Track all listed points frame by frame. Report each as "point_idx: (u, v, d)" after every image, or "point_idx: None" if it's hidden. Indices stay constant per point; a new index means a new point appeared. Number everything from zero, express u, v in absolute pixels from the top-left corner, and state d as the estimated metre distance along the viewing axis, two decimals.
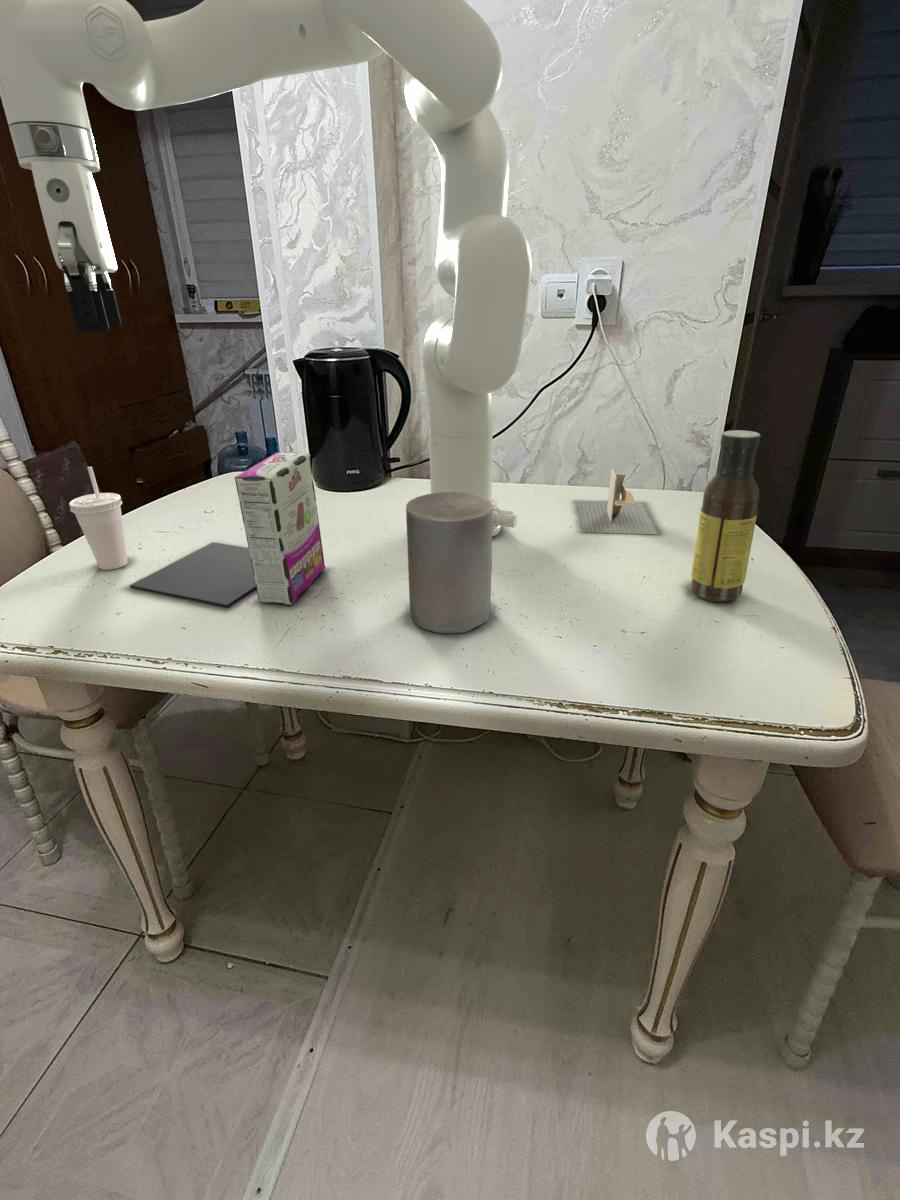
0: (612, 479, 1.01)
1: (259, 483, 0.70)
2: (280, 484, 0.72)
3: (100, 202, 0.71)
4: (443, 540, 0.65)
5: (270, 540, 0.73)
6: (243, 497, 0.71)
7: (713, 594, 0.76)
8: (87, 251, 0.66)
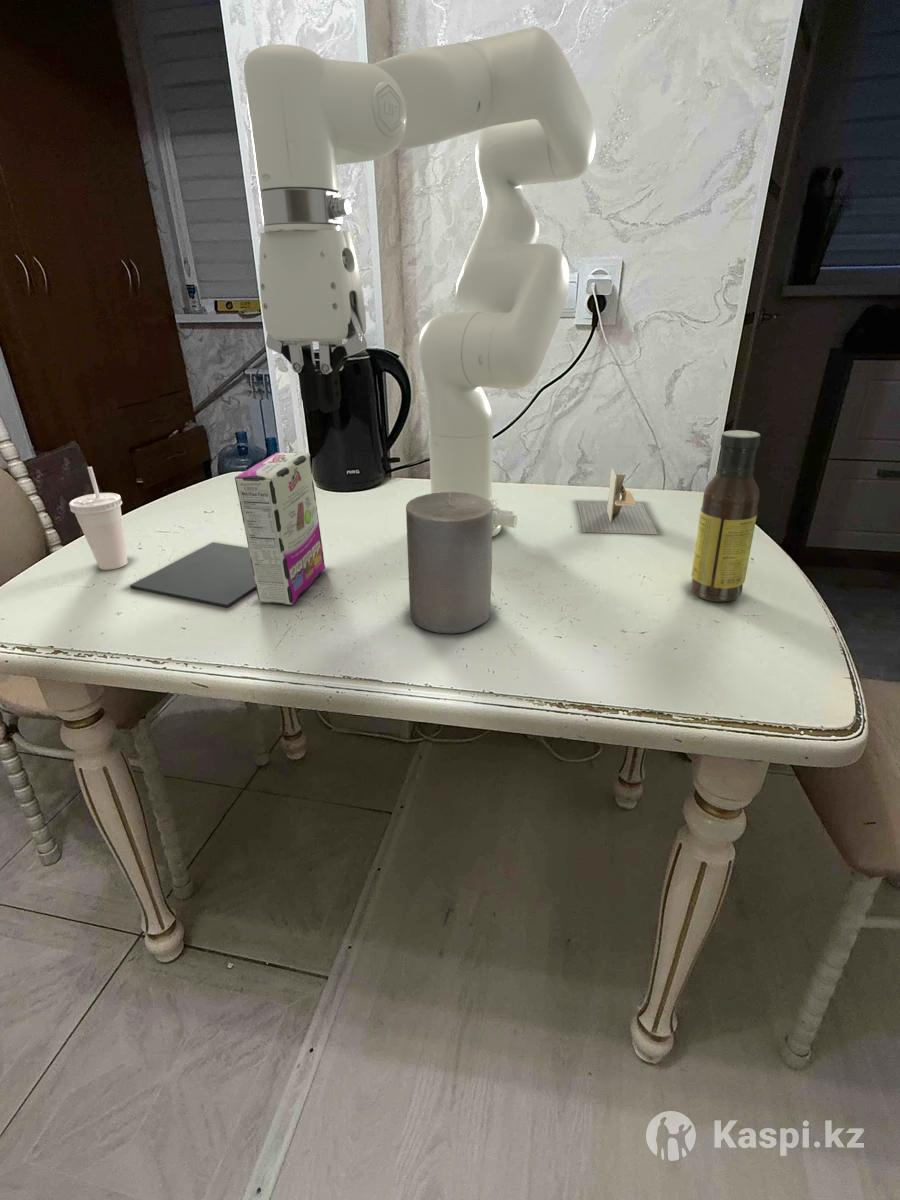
0: (612, 479, 1.01)
1: (259, 483, 0.70)
2: (280, 484, 0.72)
3: None
4: (443, 540, 0.65)
5: (270, 540, 0.73)
6: (243, 497, 0.71)
7: (713, 594, 0.76)
8: None
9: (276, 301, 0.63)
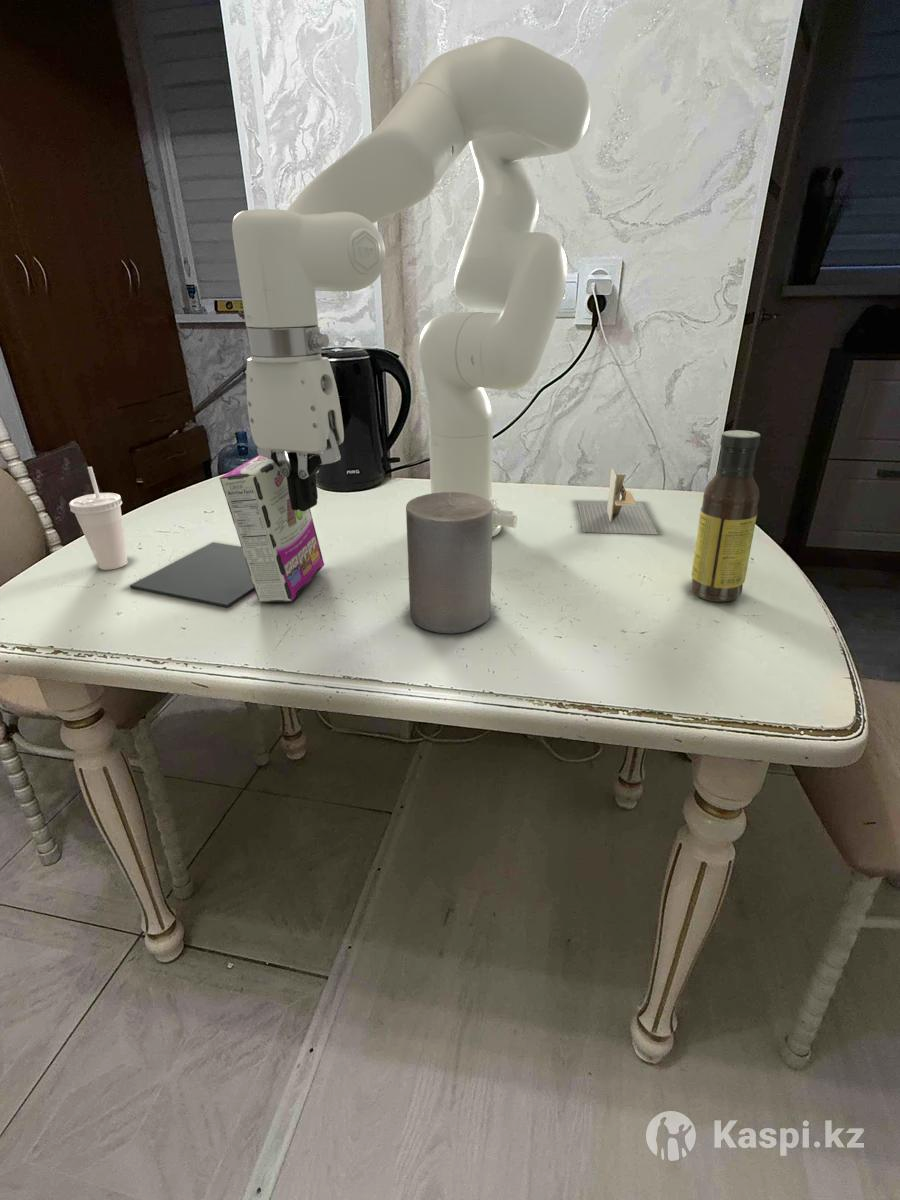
0: (612, 479, 1.01)
1: (243, 480, 0.70)
2: (265, 480, 0.72)
3: None
4: (443, 540, 0.65)
5: (261, 537, 0.73)
6: (230, 497, 0.72)
7: (713, 594, 0.76)
8: None
9: (262, 417, 0.70)
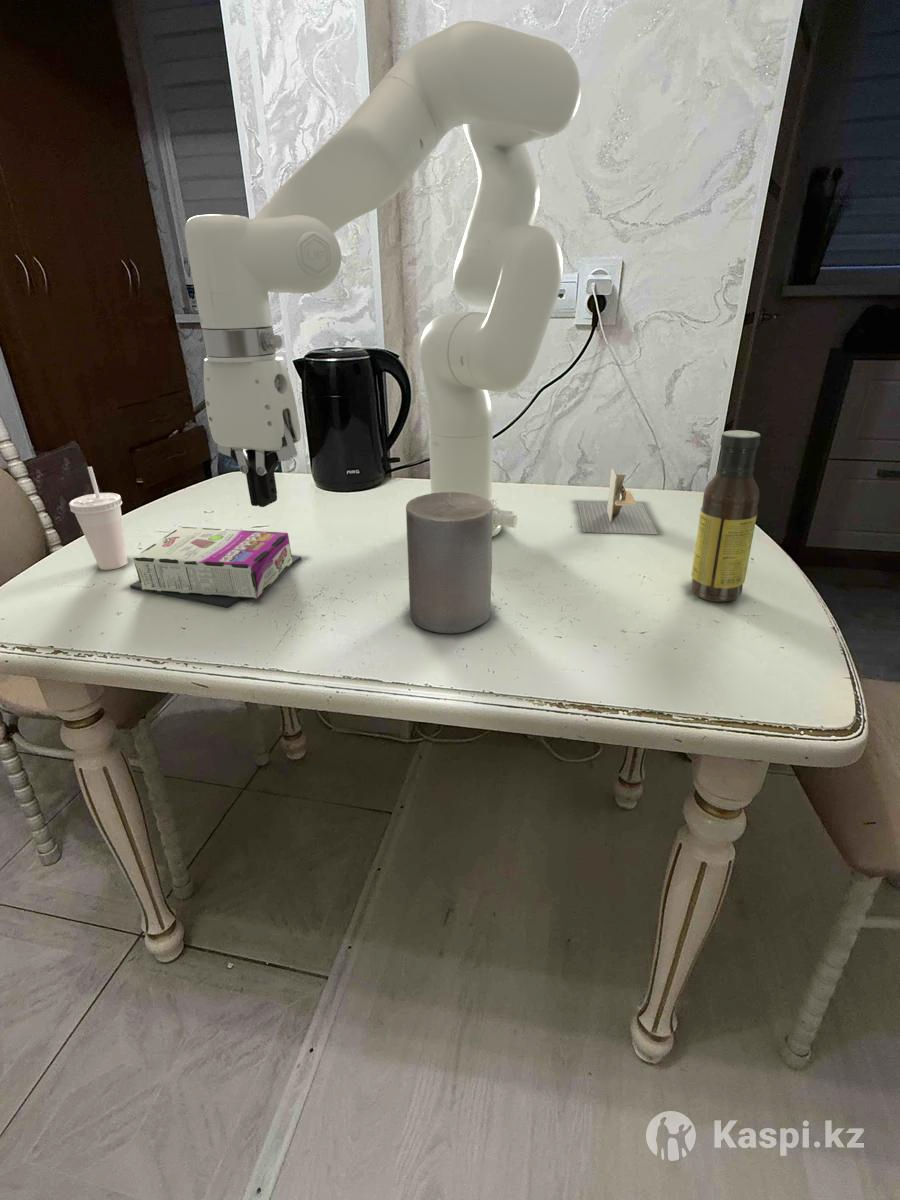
0: (612, 479, 1.01)
1: (139, 569, 0.79)
2: (148, 552, 0.80)
3: None
4: (443, 540, 0.65)
5: (188, 571, 0.78)
6: (156, 586, 0.80)
7: (713, 594, 0.76)
8: None
9: (219, 416, 0.72)
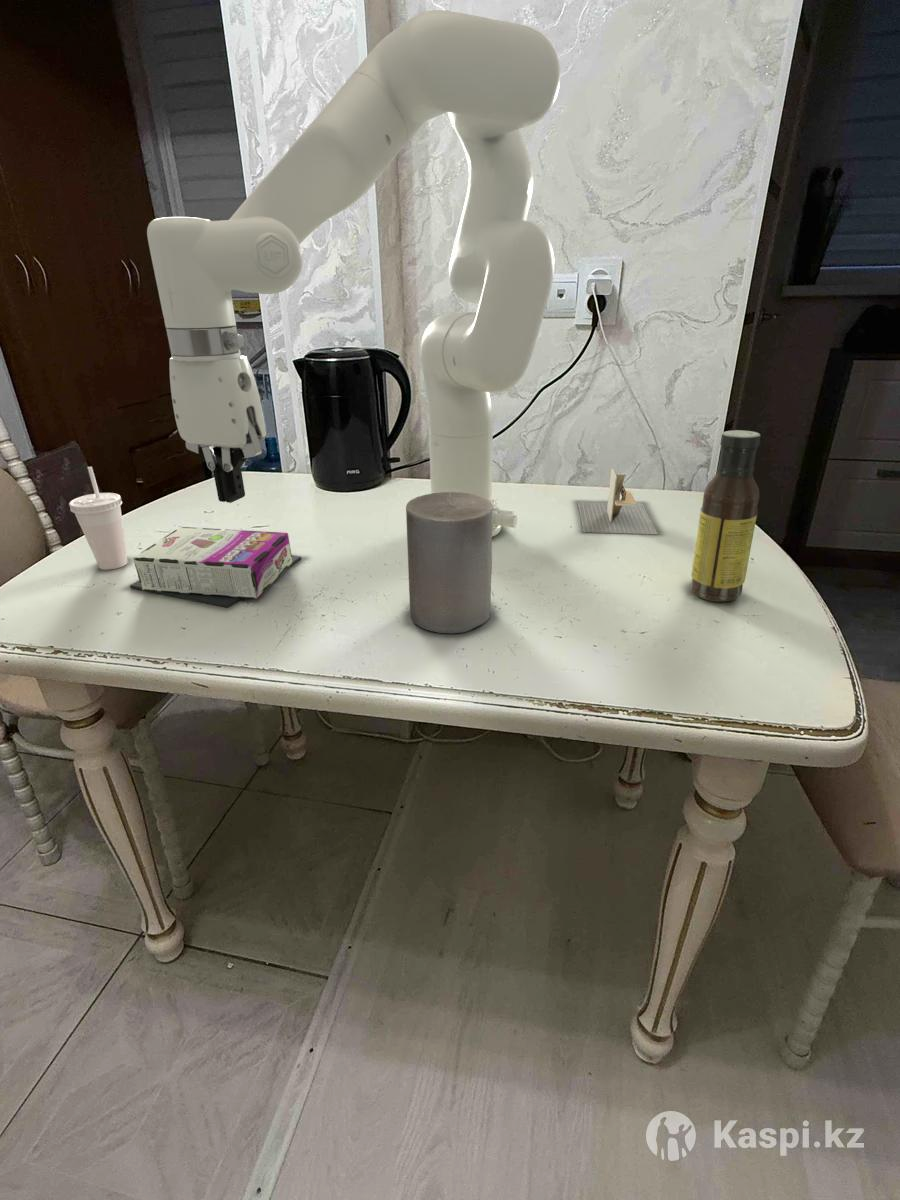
0: (612, 479, 1.01)
1: (139, 569, 0.79)
2: (148, 552, 0.80)
3: None
4: (443, 540, 0.65)
5: (188, 571, 0.78)
6: (156, 586, 0.80)
7: (713, 594, 0.76)
8: None
9: (185, 413, 0.74)
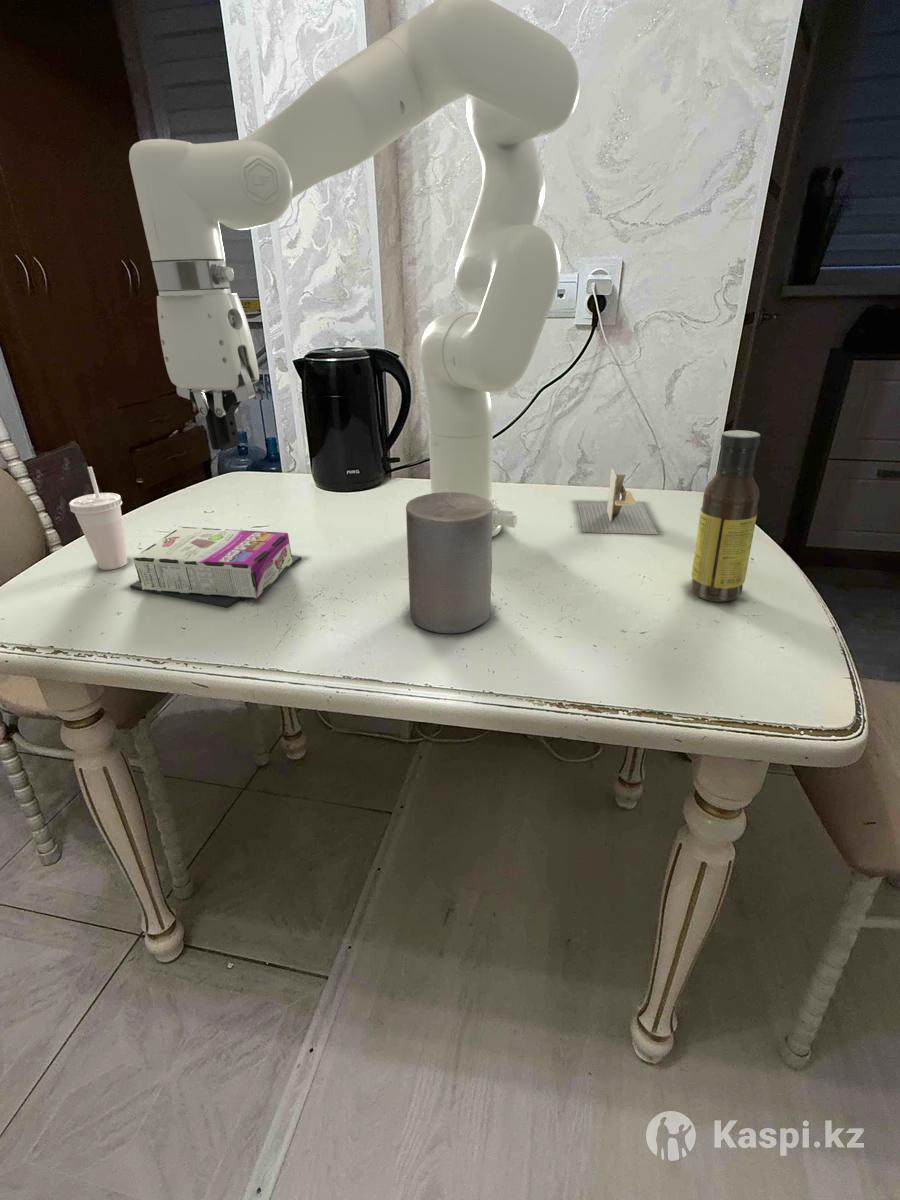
0: (612, 479, 1.01)
1: (139, 569, 0.79)
2: (148, 552, 0.80)
3: None
4: (443, 540, 0.65)
5: (188, 571, 0.78)
6: (156, 586, 0.80)
7: (713, 594, 0.76)
8: None
9: (175, 355, 0.71)
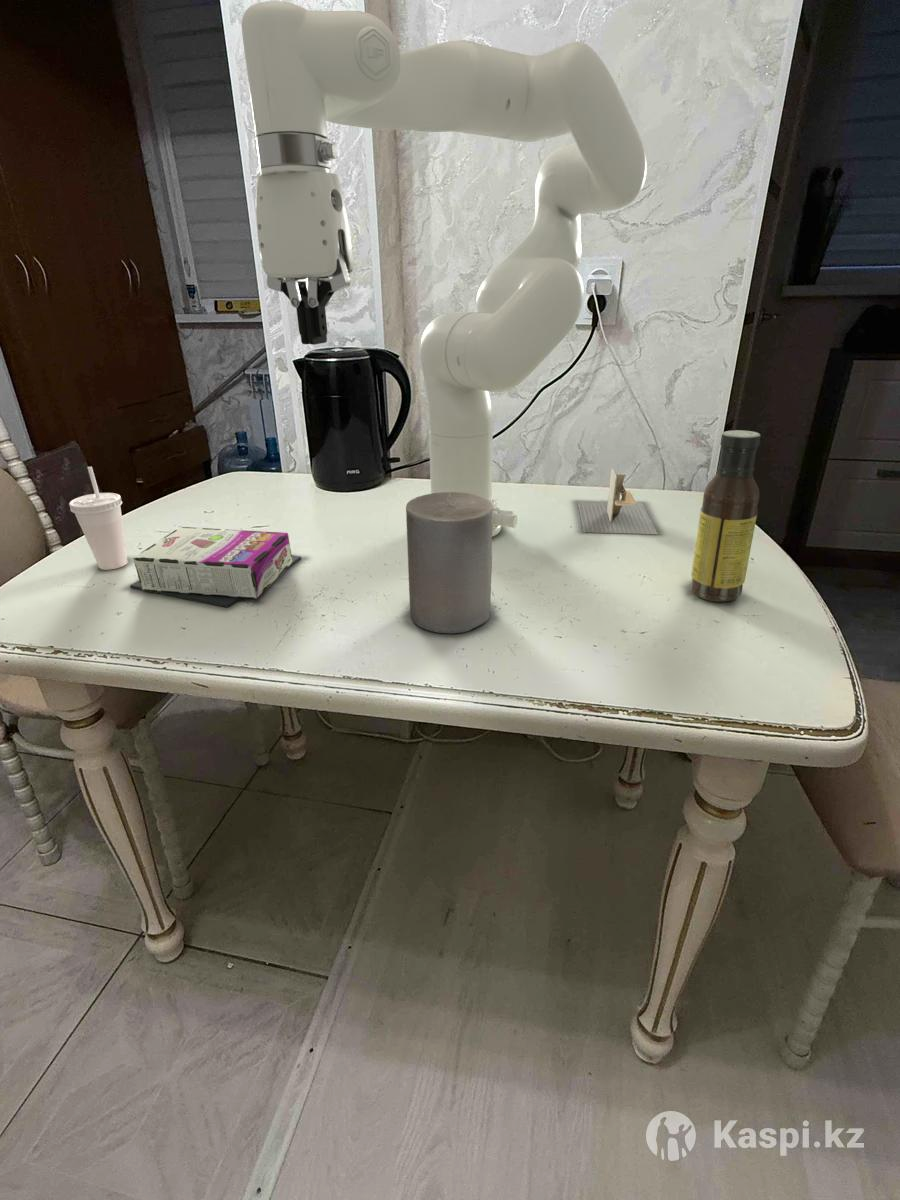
0: (612, 479, 1.01)
1: (139, 569, 0.79)
2: (148, 552, 0.80)
3: None
4: (443, 540, 0.65)
5: (188, 571, 0.78)
6: (156, 586, 0.80)
7: (713, 594, 0.76)
8: None
9: (272, 240, 0.70)
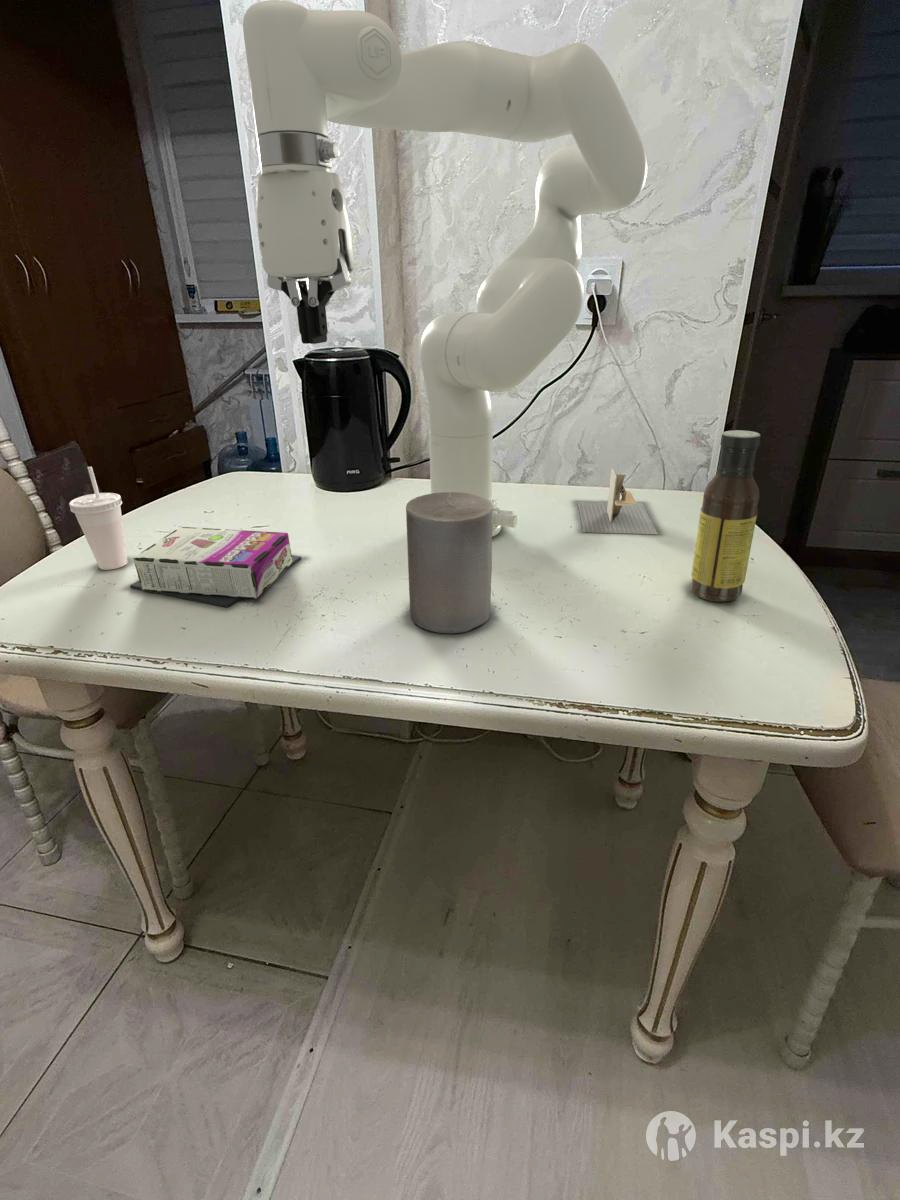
0: (612, 479, 1.01)
1: (139, 569, 0.79)
2: (148, 552, 0.80)
3: None
4: (443, 540, 0.65)
5: (188, 571, 0.78)
6: (156, 586, 0.80)
7: (713, 594, 0.76)
8: None
9: (272, 239, 0.70)
